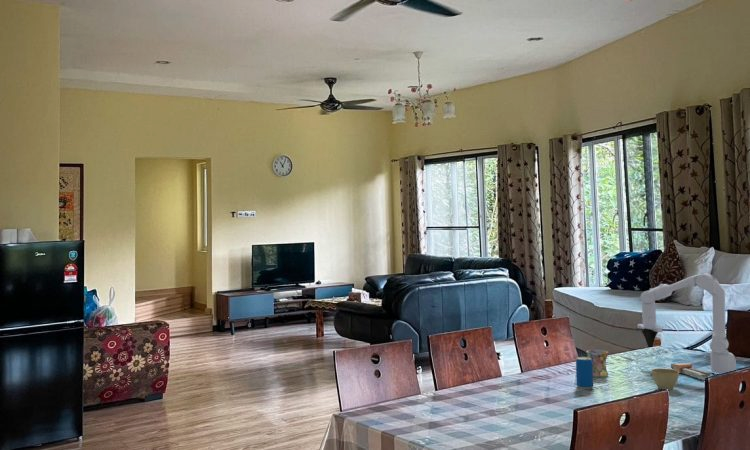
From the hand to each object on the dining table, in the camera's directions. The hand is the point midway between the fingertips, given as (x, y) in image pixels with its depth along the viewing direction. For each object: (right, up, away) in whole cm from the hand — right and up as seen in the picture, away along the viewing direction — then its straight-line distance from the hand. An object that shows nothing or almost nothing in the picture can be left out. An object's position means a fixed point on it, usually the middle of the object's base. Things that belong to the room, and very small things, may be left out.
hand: (650, 345), depth 284 cm
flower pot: (-12, -9, -41) cm, 43 cm away
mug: (-31, -11, -15) cm, 36 cm away
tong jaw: (+8, -9, -21) cm, 24 cm away
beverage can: (-42, -10, -35) cm, 56 cm away
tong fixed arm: (+9, -9, -16) cm, 21 cm away
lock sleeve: (+8, -9, -14) cm, 19 cm away
